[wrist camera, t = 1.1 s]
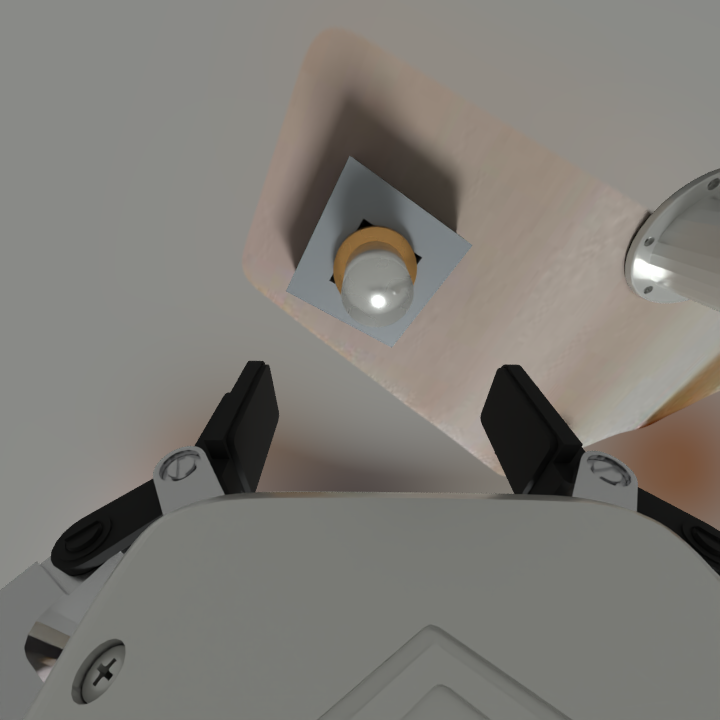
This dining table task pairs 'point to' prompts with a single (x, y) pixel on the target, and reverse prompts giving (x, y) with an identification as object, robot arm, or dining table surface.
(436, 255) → the housing
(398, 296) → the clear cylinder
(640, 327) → the dining table surface
